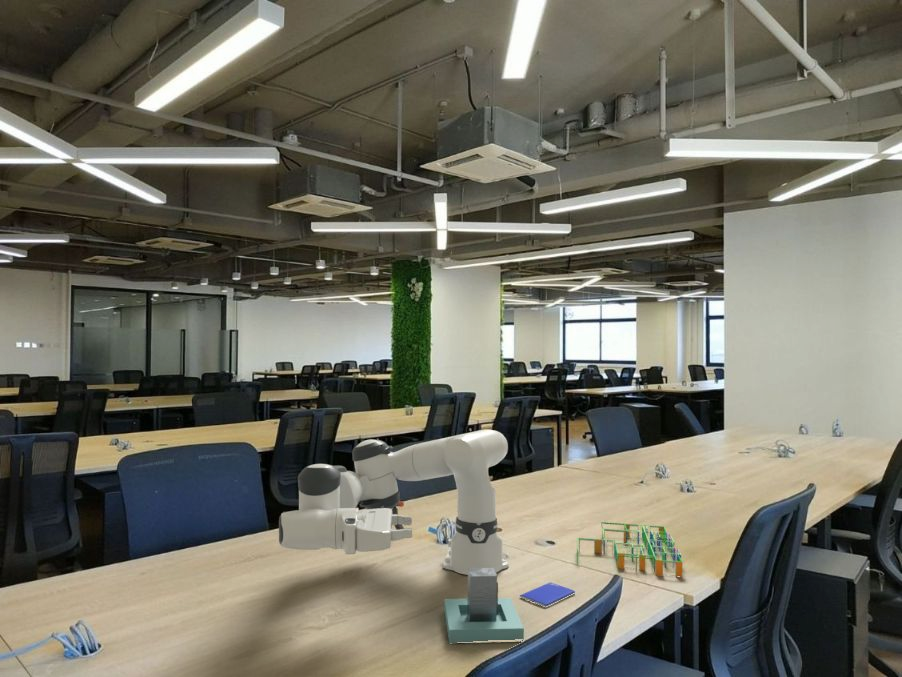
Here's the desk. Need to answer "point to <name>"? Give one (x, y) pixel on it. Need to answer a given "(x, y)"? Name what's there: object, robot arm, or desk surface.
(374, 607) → the desk surface
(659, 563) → the house model
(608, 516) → the desk surface
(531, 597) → the blue book
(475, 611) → the block
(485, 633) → the tray
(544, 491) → the desk surface
